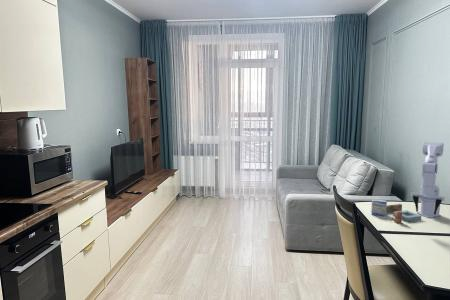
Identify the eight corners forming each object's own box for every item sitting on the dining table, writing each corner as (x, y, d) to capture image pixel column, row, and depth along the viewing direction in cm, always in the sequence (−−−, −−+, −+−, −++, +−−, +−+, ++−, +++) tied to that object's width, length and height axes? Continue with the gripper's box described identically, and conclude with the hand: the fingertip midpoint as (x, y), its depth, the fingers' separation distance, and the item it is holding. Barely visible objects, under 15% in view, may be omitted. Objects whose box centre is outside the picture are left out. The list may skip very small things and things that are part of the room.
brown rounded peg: (398, 220, 180) (398, 210, 179) (403, 223, 177) (403, 212, 176) (392, 221, 179) (393, 211, 179) (397, 223, 176) (398, 213, 175)
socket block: (406, 214, 191) (407, 210, 190) (421, 220, 181) (421, 215, 181) (393, 216, 188) (393, 211, 188) (406, 222, 178) (407, 217, 178)
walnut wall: (397, 209, 200) (397, 202, 200) (401, 210, 197) (402, 204, 196) (378, 211, 197) (378, 204, 196) (382, 213, 193) (383, 206, 193)
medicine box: (371, 214, 191) (372, 200, 189) (370, 212, 195) (371, 198, 194) (386, 216, 188) (386, 202, 187) (385, 213, 192) (386, 200, 191)
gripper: (411, 184, 163) (408, 211, 163) (445, 188, 155) (442, 216, 155) (412, 184, 169) (409, 209, 169) (445, 187, 161) (443, 214, 161)
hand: (425, 212), depth 162 cm, fingers open, 7 cm apart
